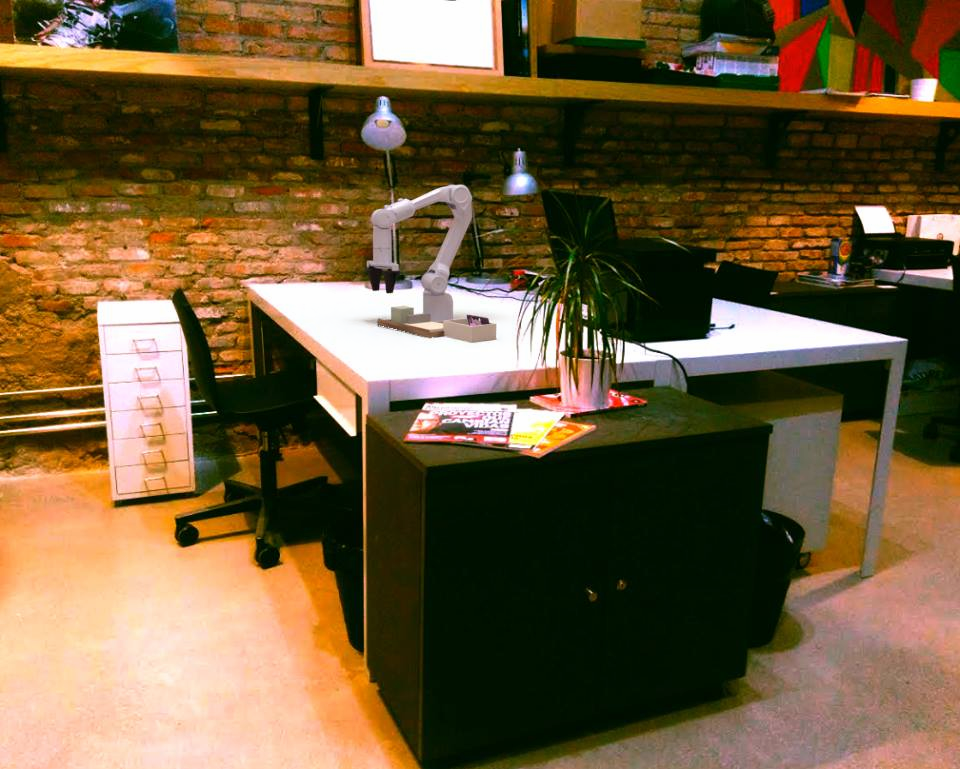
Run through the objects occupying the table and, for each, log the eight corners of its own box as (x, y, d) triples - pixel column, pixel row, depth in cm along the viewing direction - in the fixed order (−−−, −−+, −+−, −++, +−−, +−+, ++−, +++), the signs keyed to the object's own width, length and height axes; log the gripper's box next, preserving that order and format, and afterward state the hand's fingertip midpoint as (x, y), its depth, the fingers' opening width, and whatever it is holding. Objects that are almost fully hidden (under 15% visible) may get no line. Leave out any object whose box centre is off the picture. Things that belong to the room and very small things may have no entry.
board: (406, 322, 274) (406, 315, 273) (459, 334, 254) (459, 326, 253) (377, 325, 267) (377, 318, 266) (429, 338, 247) (429, 330, 246)
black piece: (490, 316, 244) (468, 313, 251) (477, 324, 241) (456, 320, 248) (495, 337, 247) (474, 333, 254) (482, 345, 244) (461, 341, 251)
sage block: (404, 324, 268) (404, 305, 267) (413, 326, 264) (413, 307, 263) (391, 326, 265) (390, 307, 263) (400, 328, 261) (400, 308, 260)
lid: (429, 323, 263) (429, 312, 262) (456, 328, 253) (456, 318, 253) (403, 326, 257) (403, 315, 256) (429, 332, 247) (429, 321, 246)
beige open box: (467, 332, 256) (467, 317, 255) (496, 339, 247) (496, 323, 246) (442, 335, 251) (442, 320, 250) (471, 342, 241) (471, 326, 240)
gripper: (358, 247, 269) (359, 290, 272) (385, 250, 258) (385, 295, 261) (377, 246, 273) (377, 289, 276) (404, 249, 263) (404, 293, 266)
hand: (382, 292), depth 269 cm, fingers open, 7 cm apart
